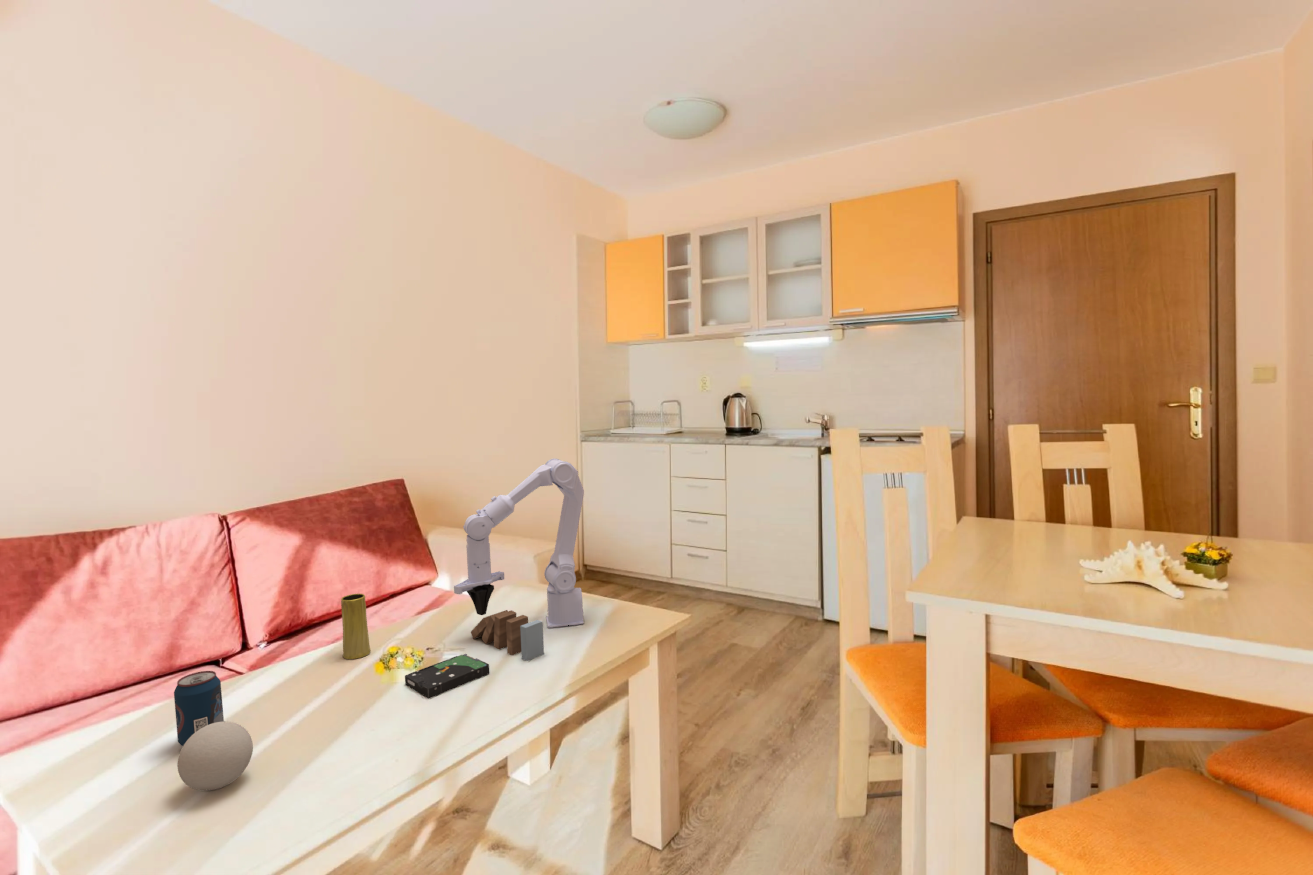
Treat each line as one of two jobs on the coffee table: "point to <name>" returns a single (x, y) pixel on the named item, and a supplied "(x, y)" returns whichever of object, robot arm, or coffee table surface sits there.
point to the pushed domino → (480, 628)
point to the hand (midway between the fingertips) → (481, 613)
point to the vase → (354, 626)
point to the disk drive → (446, 675)
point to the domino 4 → (532, 640)
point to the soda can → (197, 703)
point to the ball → (215, 756)
